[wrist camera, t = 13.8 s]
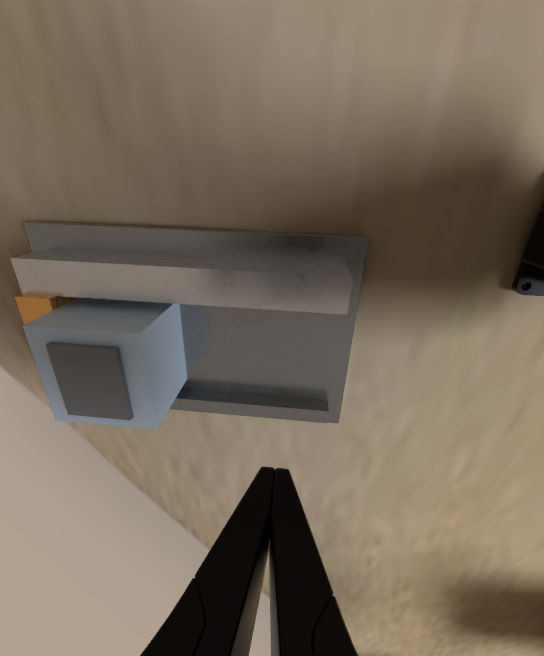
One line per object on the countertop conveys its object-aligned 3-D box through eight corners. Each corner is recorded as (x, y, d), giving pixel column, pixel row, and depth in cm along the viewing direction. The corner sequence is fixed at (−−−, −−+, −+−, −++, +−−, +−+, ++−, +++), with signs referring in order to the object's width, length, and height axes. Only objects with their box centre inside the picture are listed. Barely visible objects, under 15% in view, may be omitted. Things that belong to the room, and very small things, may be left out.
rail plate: (365, 236, 17) (381, 248, 14) (337, 414, 23) (343, 456, 19) (36, 220, 19) (-28, 228, 15) (84, 392, 24) (46, 428, 21)
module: (178, 298, 19) (137, 336, 14) (187, 378, 21) (154, 433, 17) (87, 293, 19) (17, 328, 15) (106, 372, 22) (51, 424, 17)
